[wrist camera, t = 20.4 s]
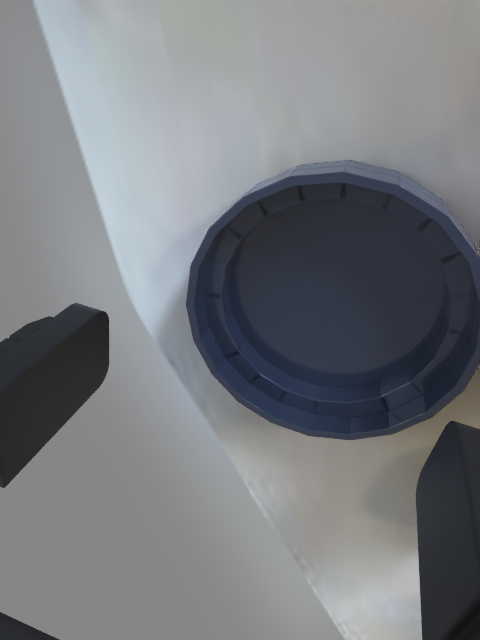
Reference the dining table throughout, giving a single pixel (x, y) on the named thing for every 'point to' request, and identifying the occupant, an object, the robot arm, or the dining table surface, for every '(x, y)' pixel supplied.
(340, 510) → the dining table surface
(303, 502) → the dining table surface
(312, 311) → the bowl
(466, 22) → the dining table surface
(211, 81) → the dining table surface
